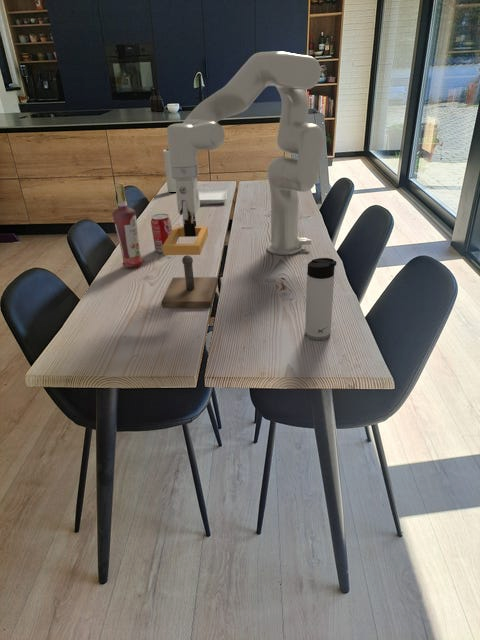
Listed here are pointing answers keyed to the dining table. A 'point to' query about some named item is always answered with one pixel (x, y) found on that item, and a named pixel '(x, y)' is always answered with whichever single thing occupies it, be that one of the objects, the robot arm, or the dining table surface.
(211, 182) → the dining table surface
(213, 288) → the board
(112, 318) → the dining table surface
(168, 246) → the link
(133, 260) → the liquor
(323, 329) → the travel mug
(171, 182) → the paper towel roll
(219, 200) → the salad plate
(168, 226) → the soda can
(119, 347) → the dining table surface
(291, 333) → the dining table surface
